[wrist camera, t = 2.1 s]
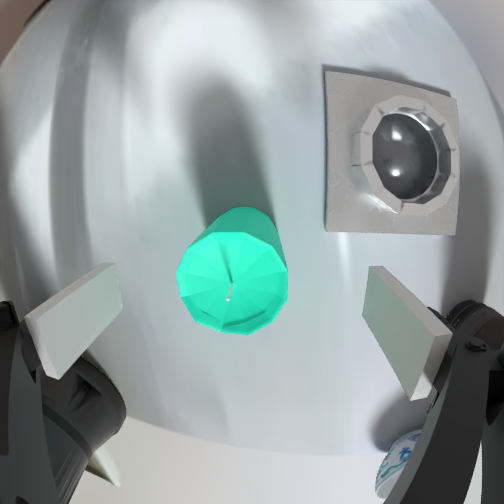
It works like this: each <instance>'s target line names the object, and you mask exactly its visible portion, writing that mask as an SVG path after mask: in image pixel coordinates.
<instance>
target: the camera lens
mask: <svg viewBox="0 0 504 504" xmlns="http://www.w3.org/2000/svg"><path fill="white" fill-rule="evenodd" d="M446 320H447V321H448V324H451V325H452V326H453V327H454V328H455V329H456V330H457V331H458V332H459V333H460V334H461V335H462V336H463V337H464V336H472V337H476V338H479V339H481V340H483V341H484V342H486V344H487V345H488V346H489V349H490V350H501V347H502V345H503V342H504V317H503V316H502V315H501V314H499V313H498V312H497V311H495V310H494V309H492V308H490V307H488V306H486V305H485V304H483V303H477V302H475V301H472V300H467V301H464V302H462V303H460V304H458V305H457V306H456V307H455V308H454V309H453V310H452V311H451V312H450V313H449V314H448V316H447V318H446Z"/></svg>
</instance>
